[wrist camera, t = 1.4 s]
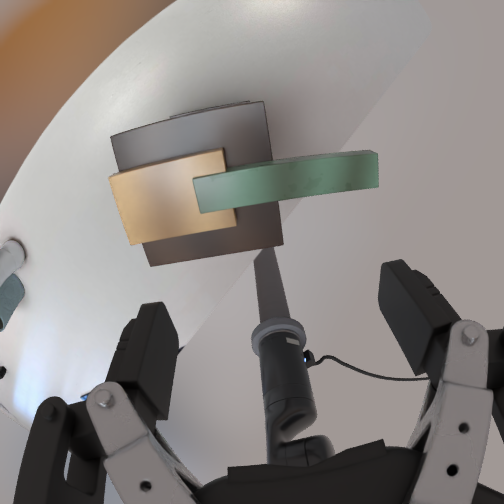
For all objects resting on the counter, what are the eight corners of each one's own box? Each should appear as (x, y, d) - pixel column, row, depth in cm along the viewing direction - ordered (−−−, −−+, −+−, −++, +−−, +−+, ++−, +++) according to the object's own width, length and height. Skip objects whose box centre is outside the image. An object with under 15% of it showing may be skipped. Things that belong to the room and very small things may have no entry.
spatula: (369, 130, 20) (377, 133, 19) (371, 200, 23) (378, 206, 22) (113, 173, 21) (106, 178, 20) (134, 239, 24) (129, 247, 23)
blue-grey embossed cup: (24, 275, 53) (-2, 307, 42) (29, 306, 57) (8, 338, 47) (-4, 263, 51) (-31, 291, 40) (2, 294, 55) (-20, 323, 45)
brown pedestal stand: (249, 100, 40) (263, 101, 19) (261, 174, 46) (283, 245, 25) (171, 116, 40) (109, 136, 20) (187, 187, 46) (150, 267, 25)
